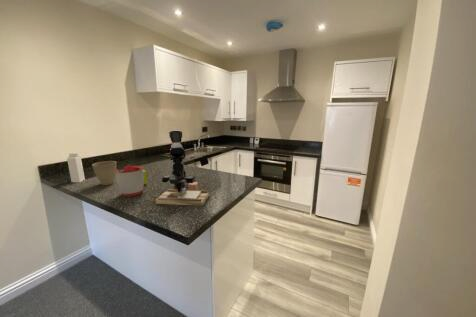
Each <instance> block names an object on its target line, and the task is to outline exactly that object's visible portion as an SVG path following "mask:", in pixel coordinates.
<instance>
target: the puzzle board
mask: <svg viewBox="0 0 476 317" xmlns="http://www.w3.org/2000/svg"><path fill="white" fill-rule="evenodd" d="M186 191H201V194H200V195H199V196H198V198H197V199H185V198H178V197H179V192H178V190H177V188H176V189H173V188H172V189H171V188H170V189H169V188H167V190H166V191H164V192H162V194H161V195H160V196H158V197H157V198H156V199H155V204H157V205H158V204H159V205H161V204H162V205H180V206H182V205H183V206H185V205H186V206H199V207H200V206H204V204H205V203H206V201H207V200H208V198H209V196H210V193H209V191H208V190H201V189H200V190H199V189H198V190H189V189H186ZM206 199H207V200H206Z"/></svg>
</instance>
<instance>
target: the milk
mask: <svg viewBox="0 0 476 317" xmlns="http://www.w3.org/2000/svg"><path fill="white" fill-rule="evenodd" d="M66 160H67V164H68V165H67V166H68V171H69V176H70V180H71V183H72V182H73V183H81V182H84V181H85V173H84V167H83V162H82V157H81V155H78V153H69V154H68V157H67V158H66ZM83 180H84V181H83Z"/></svg>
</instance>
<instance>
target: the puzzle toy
mask: <svg viewBox="0 0 476 317" xmlns="http://www.w3.org/2000/svg"><path fill="white" fill-rule="evenodd" d="M143 176H144V185H148V179H147V171H146V170H144V169H143Z"/></svg>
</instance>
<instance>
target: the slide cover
mask: <svg viewBox="0 0 476 317" xmlns="http://www.w3.org/2000/svg"><path fill="white" fill-rule="evenodd" d="M186 190H187V187H182V190H181V191H180V192H179V197H177V198H185V199H197V198H198V196H199V195H200V194H201V191H186Z"/></svg>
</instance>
